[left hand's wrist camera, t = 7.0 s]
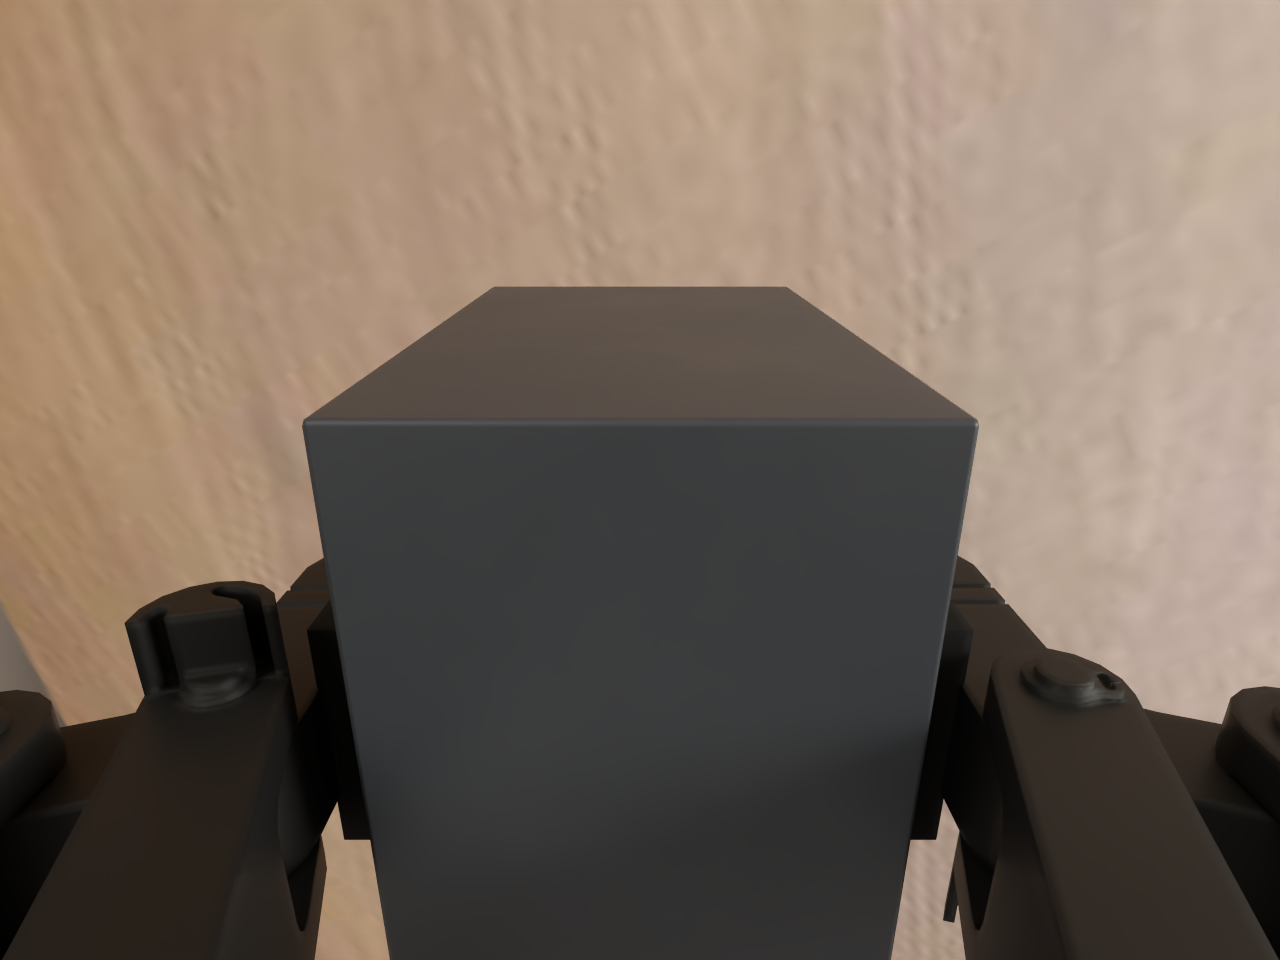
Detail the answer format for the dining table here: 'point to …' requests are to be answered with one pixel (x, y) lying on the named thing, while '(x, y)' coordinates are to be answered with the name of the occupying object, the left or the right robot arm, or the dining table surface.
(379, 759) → the bar
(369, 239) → the dining table surface
